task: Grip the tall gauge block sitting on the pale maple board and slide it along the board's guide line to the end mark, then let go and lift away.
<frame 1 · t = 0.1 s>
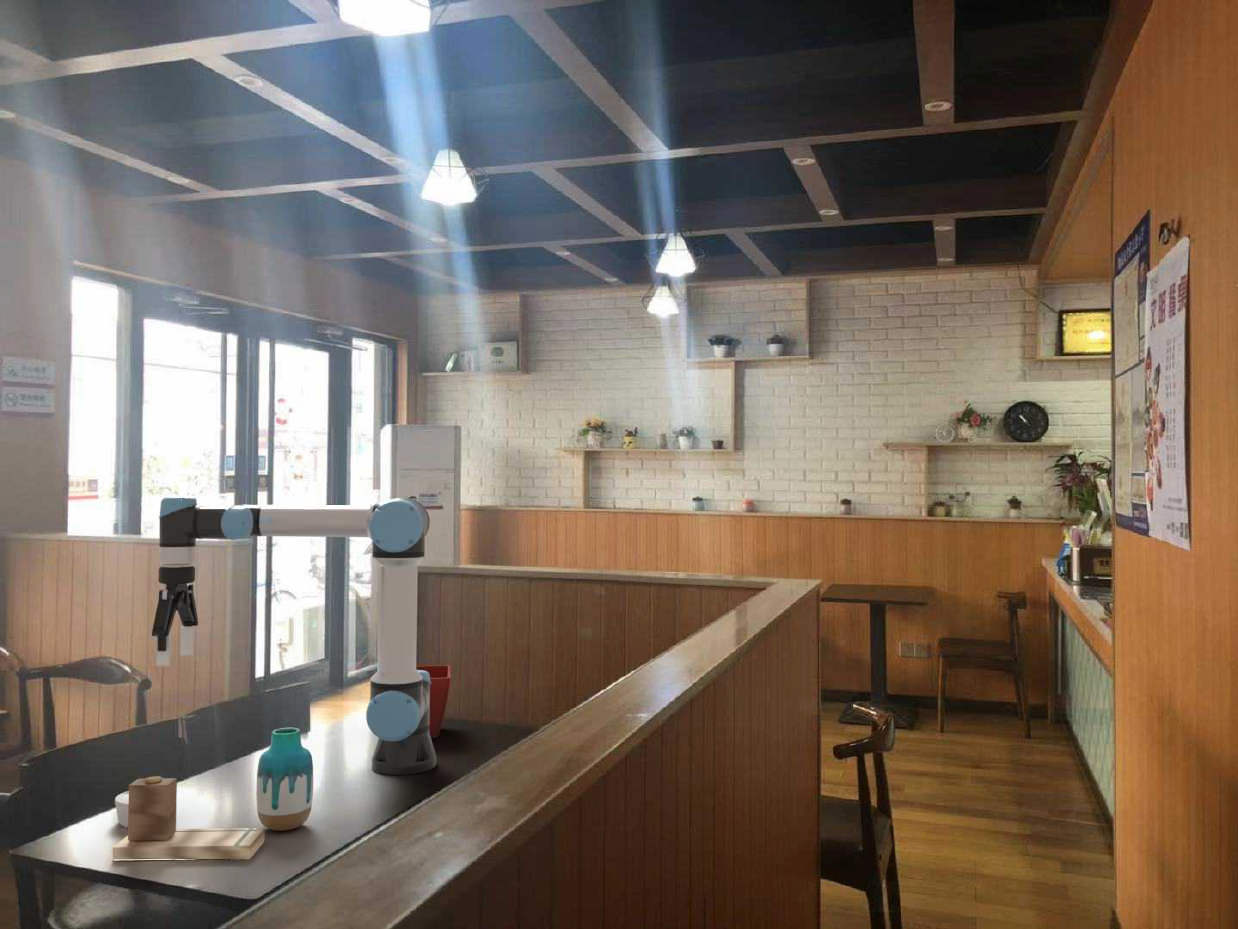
hand: (175, 660, 219), 28 cm above the table, tool pointing down, fingers open, 13 cm apart
plant pot: (413, 734, 266), on the table
vase: (284, 829, 192), on the table
board: (190, 851, 180), on the table
ramekin: (145, 822, 196), on the table
gauge: (156, 804, 181), point 8 cm above the table, slide at 0.0 cm
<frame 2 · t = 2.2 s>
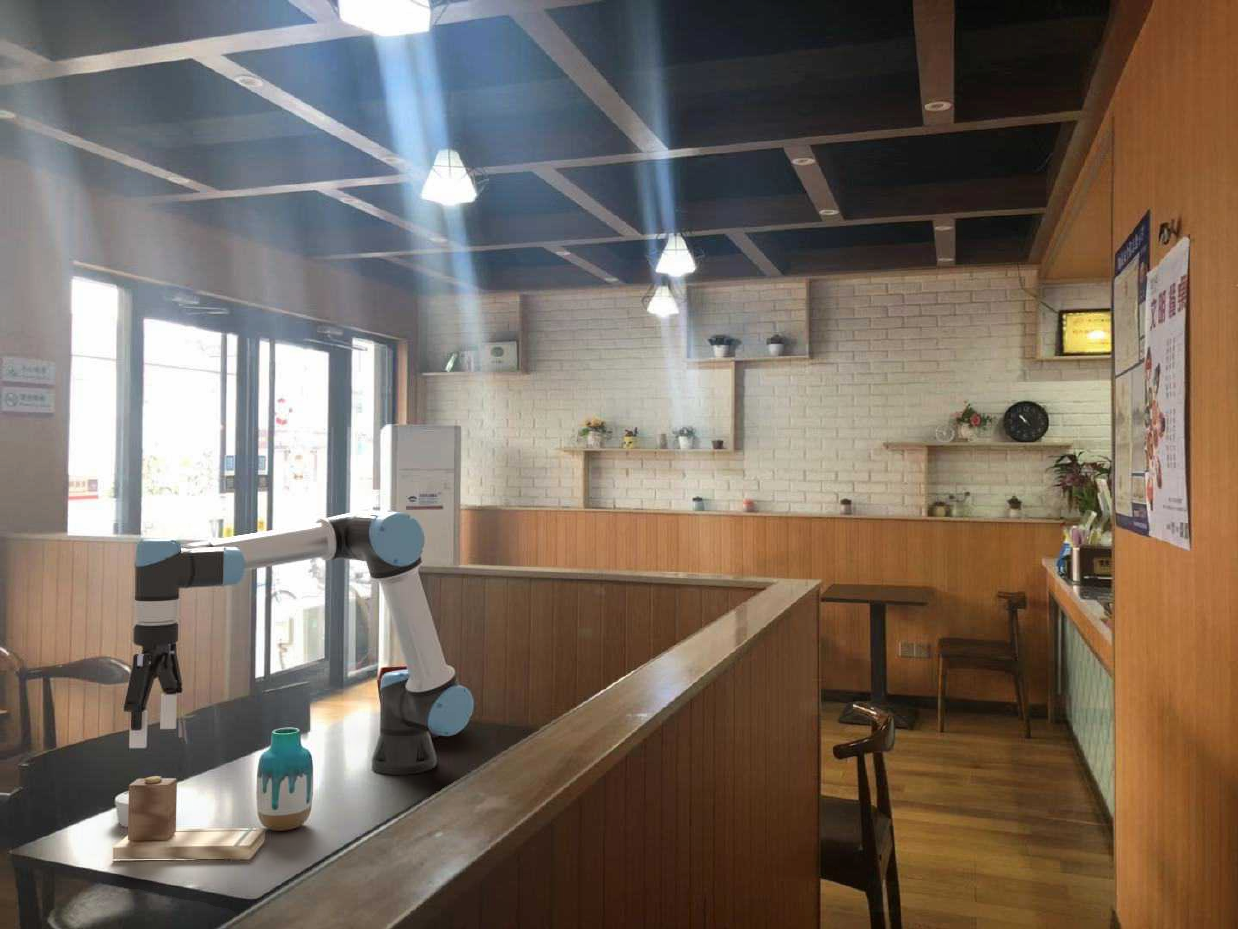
hand: (153, 738, 180), 21 cm above the table, tool pointing down, fingers open, 13 cm apart
nothing on the table moved.
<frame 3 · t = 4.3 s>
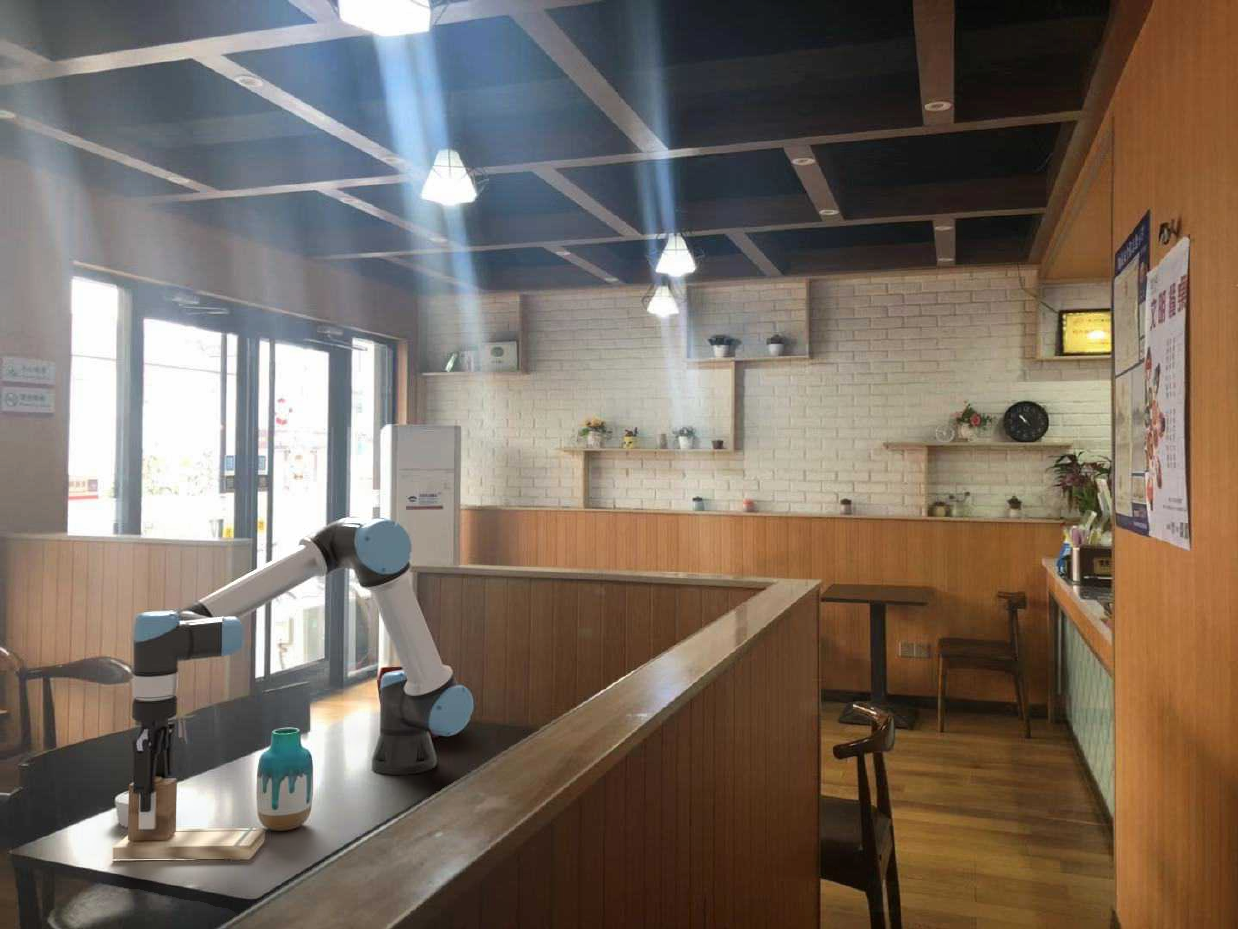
hand: (152, 823, 180), 5 cm above the table, tool pointing down, fingers closed on gauge, 4 cm apart
gauge: (156, 804, 181), point 8 cm above the table, slide at 0.0 cm, touching gripper
everything else where it was.
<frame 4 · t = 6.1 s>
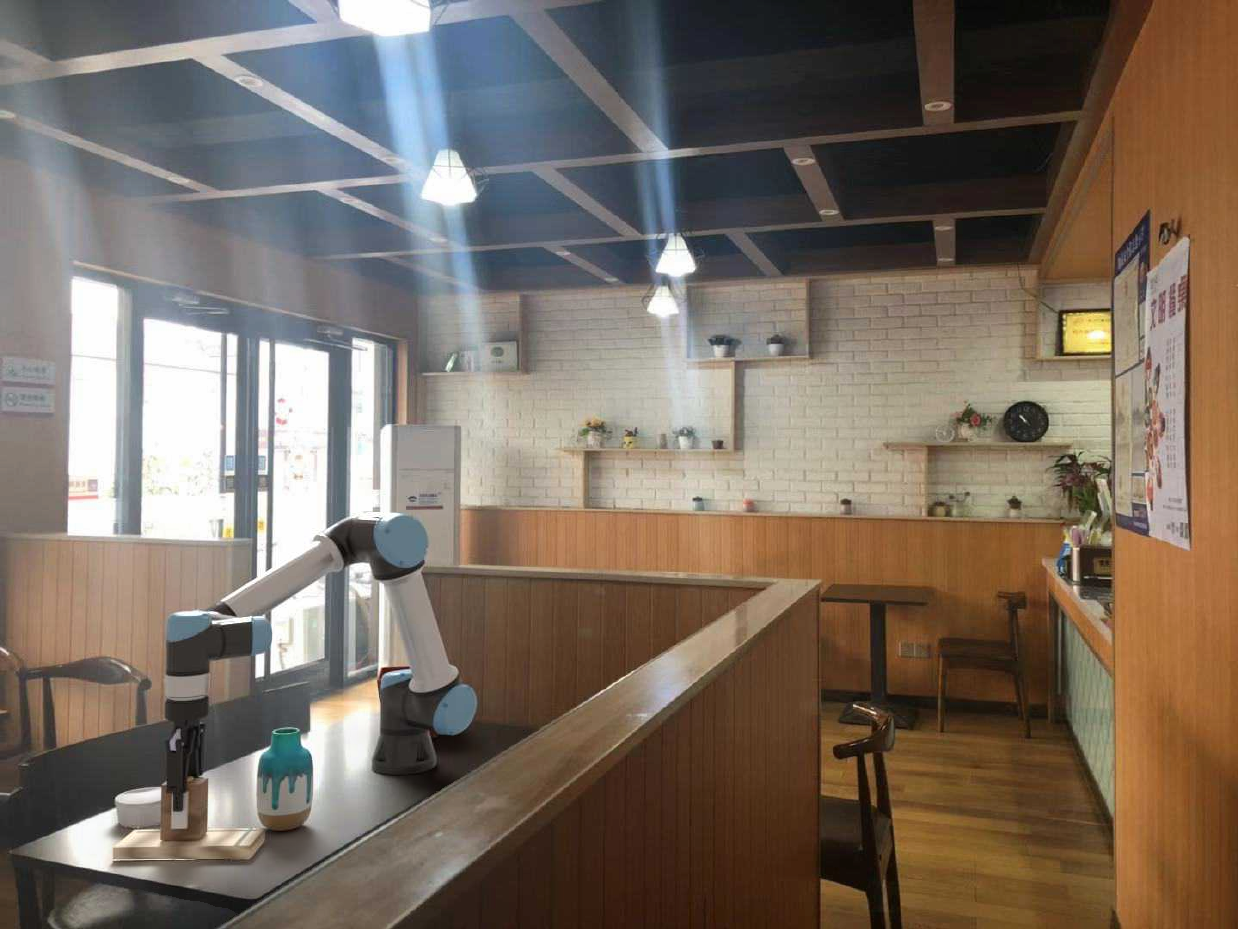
hand: (184, 823, 180), 5 cm above the table, tool pointing down, fingers closed on gauge, 4 cm apart
gauge: (188, 804, 182), point 8 cm above the table, slide at 5.7 cm, touching gripper
everything else where it was.
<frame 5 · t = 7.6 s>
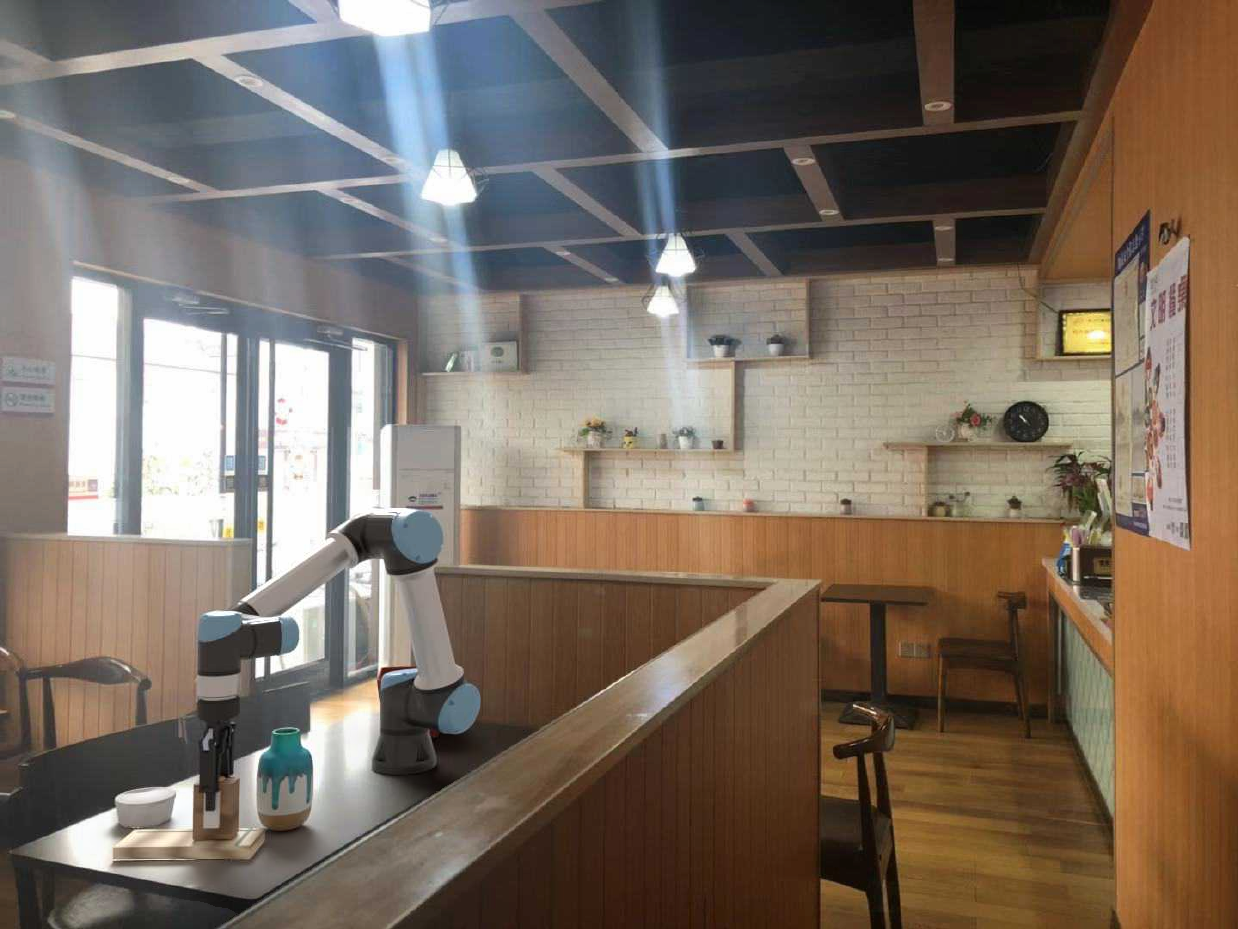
hand: (216, 822, 180), 5 cm above the table, tool pointing down, fingers closed on gauge, 4 cm apart
gauge: (219, 803, 182), point 8 cm above the table, slide at 11.4 cm, touching gripper
everything else where it was.
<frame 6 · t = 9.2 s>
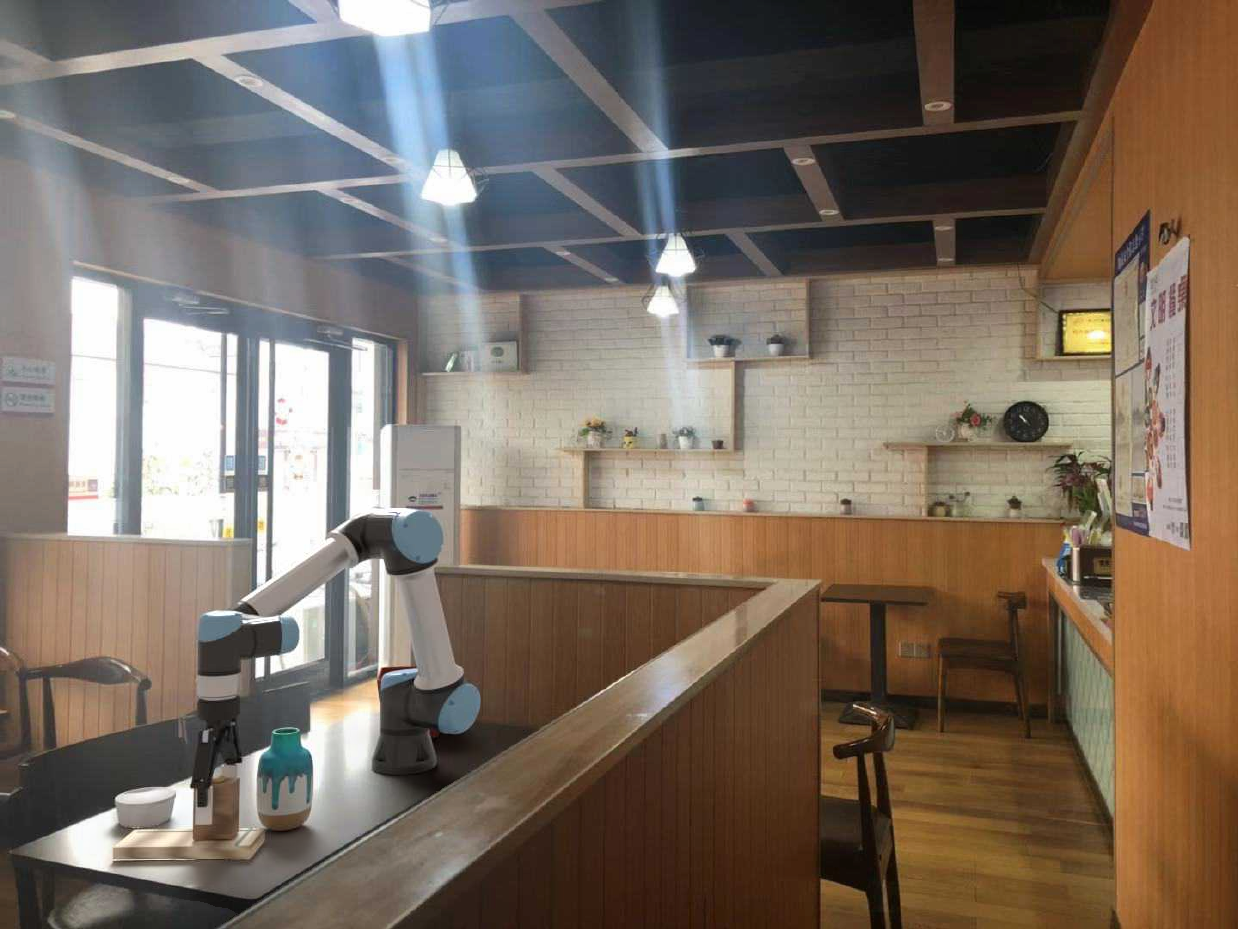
hand: (216, 811, 180), 7 cm above the table, tool pointing down, fingers open, 13 cm apart
gauge: (219, 803, 182), point 8 cm above the table, slide at 11.5 cm
everything else where it was.
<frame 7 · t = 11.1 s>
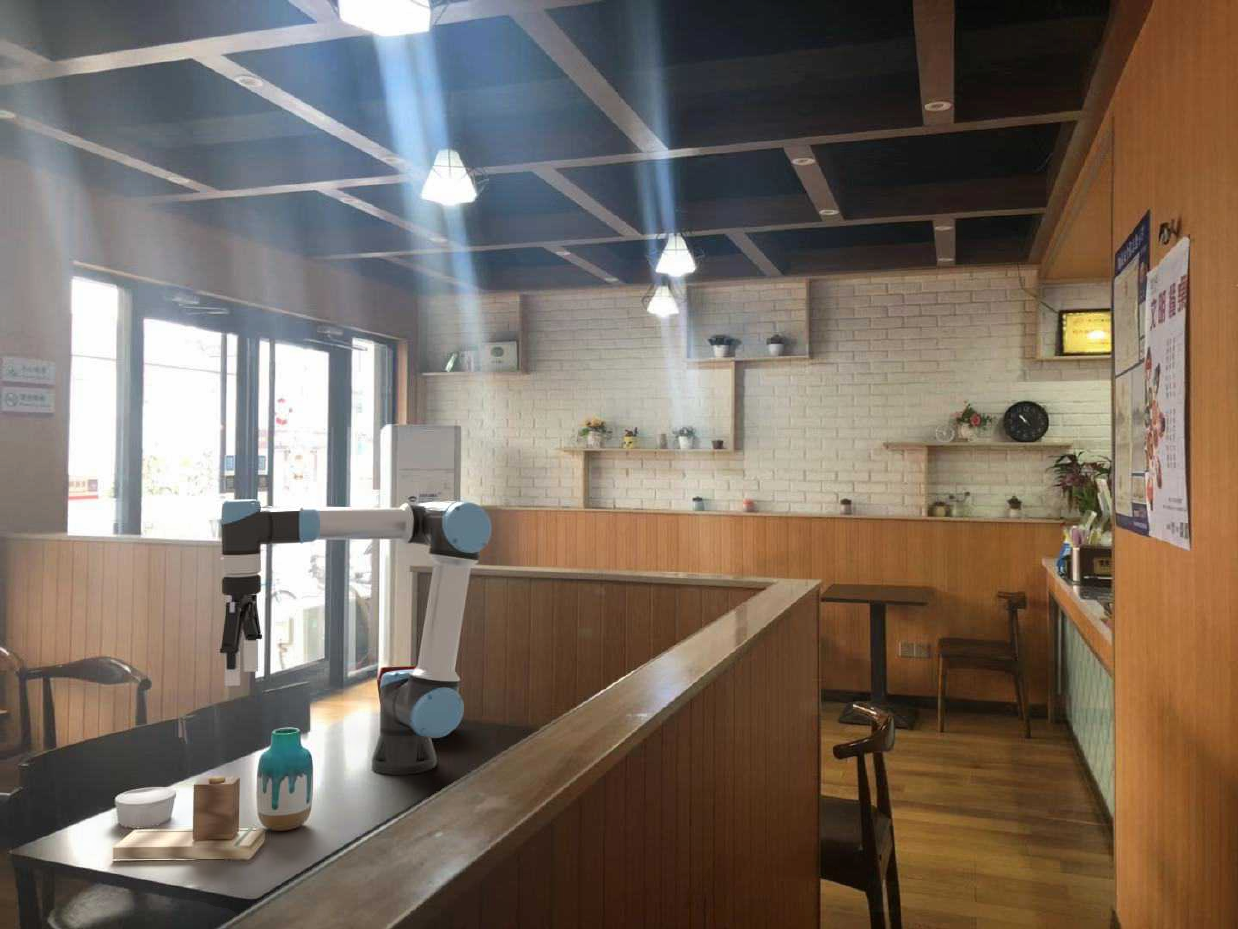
hand: (242, 678, 200), 28 cm above the table, tool pointing down, fingers open, 13 cm apart
nothing on the table moved.
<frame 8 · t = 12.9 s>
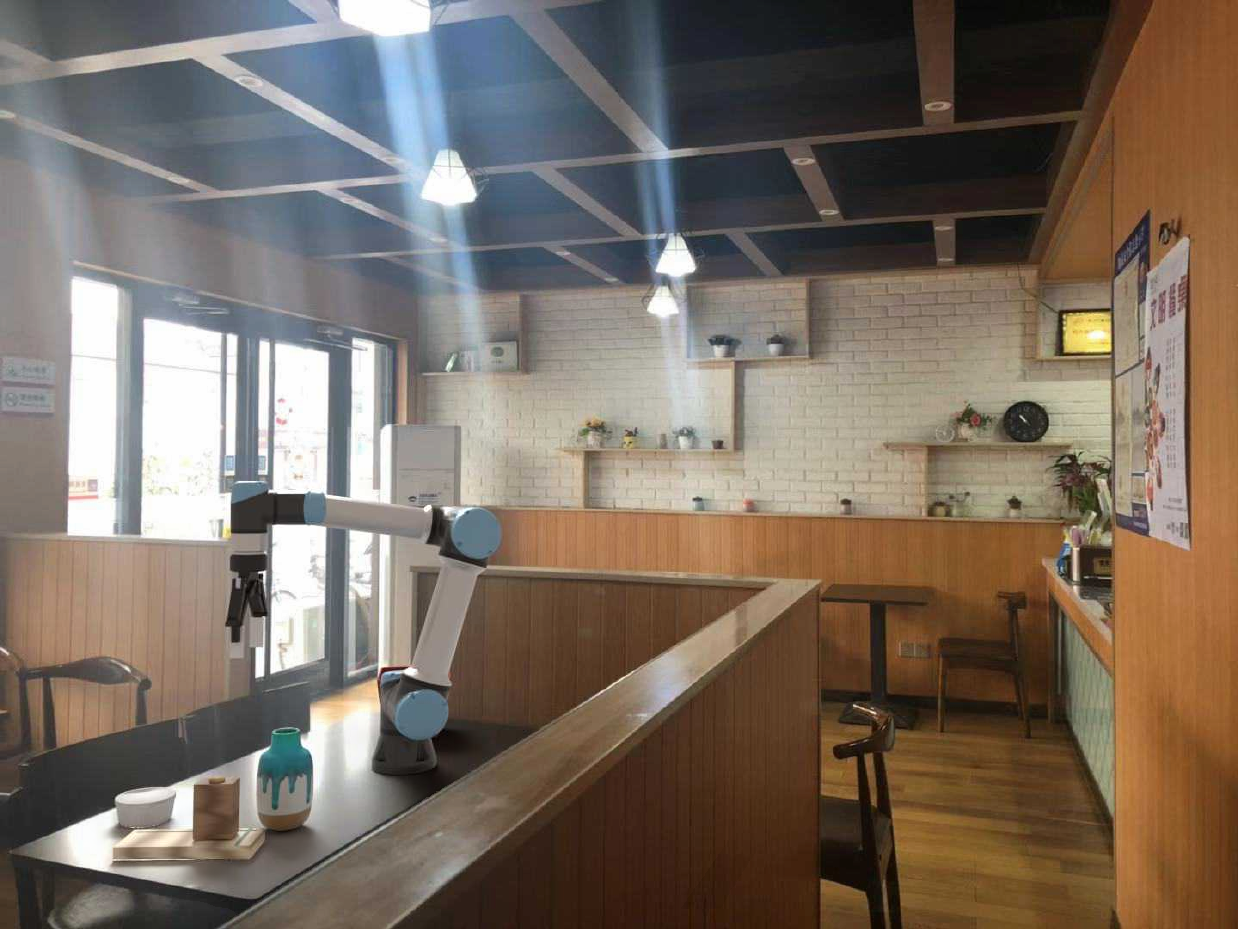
hand: (246, 652, 209), 32 cm above the table, tool pointing down, fingers open, 13 cm apart
nothing on the table moved.
at the end: gauge slide at 11.5 cm; the gripper is holding nothing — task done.
